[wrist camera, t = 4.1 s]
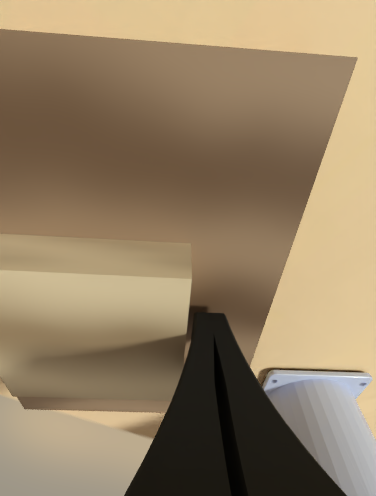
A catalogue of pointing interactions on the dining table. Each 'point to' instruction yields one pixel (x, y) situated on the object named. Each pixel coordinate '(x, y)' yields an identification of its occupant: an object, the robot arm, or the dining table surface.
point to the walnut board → (167, 160)
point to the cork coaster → (93, 317)
